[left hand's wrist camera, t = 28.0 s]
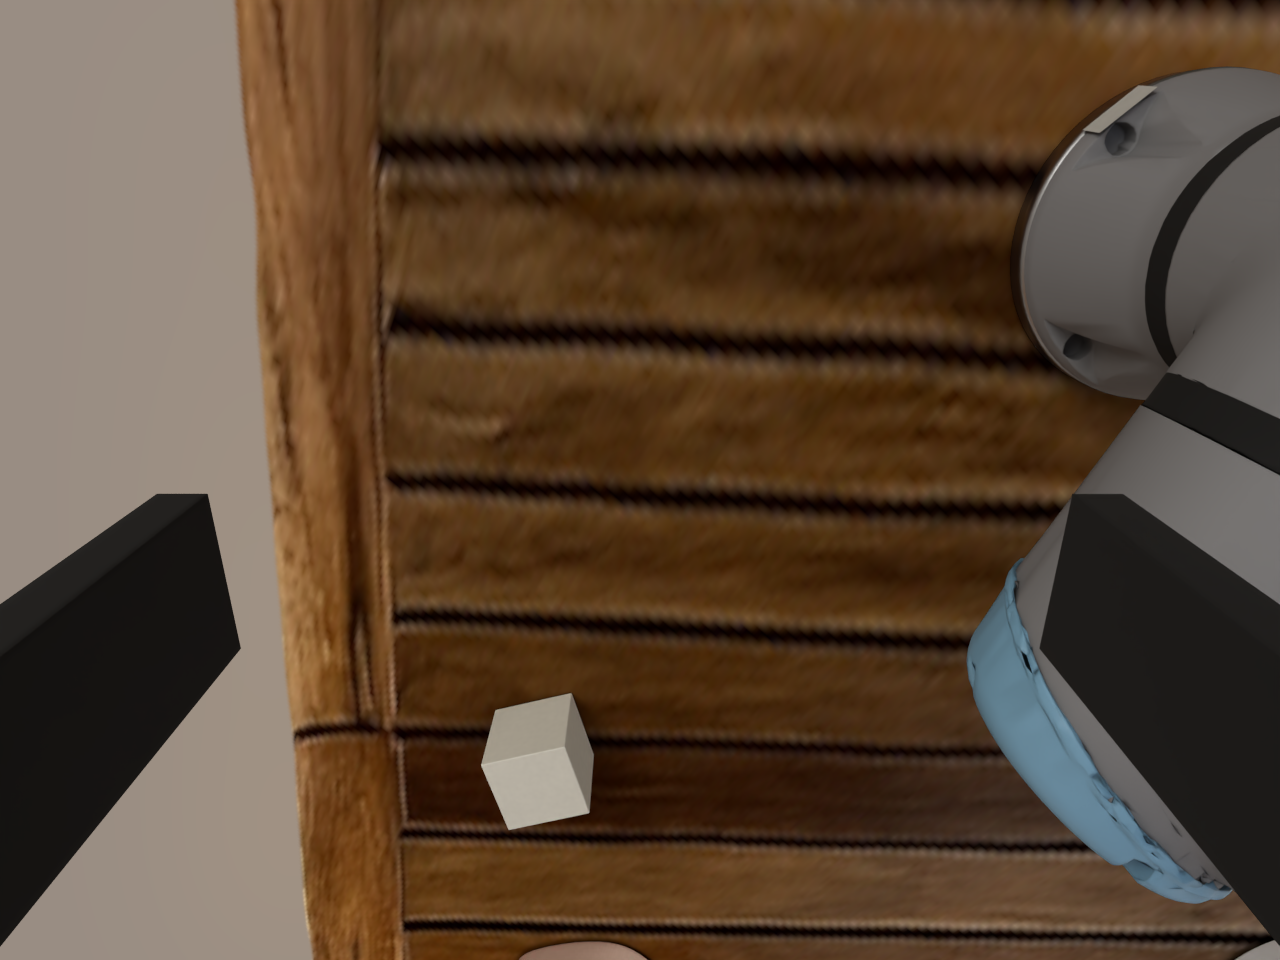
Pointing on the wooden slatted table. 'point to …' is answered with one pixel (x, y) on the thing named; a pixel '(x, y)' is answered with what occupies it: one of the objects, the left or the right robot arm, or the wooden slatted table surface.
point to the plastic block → (539, 762)
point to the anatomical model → (584, 952)
